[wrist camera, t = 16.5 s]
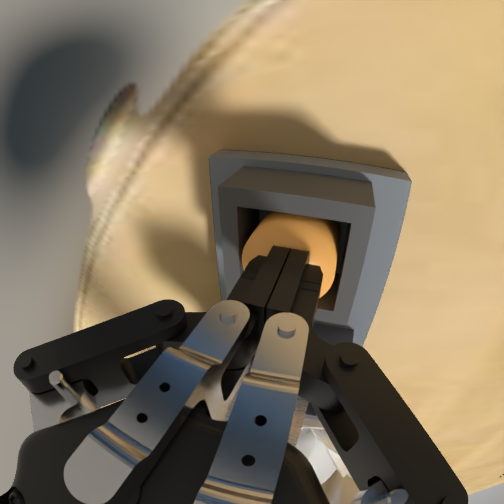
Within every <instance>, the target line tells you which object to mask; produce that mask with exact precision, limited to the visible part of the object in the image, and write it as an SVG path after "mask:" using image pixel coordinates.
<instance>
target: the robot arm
mask: <svg viewBox="0 0 504 504" xmlns="http://www.w3.org/2000/svg"><path fill="white" fill-rule="evenodd" d="M309 256H310V252H309V251H304V250H298V249H291V248H286V247H280V246H275V245H273V246H272V248H271V250H270V252H269V254H268V256H261V255H258V256H256V257H255V258H253V259H252V260H251V261H249V263H248V265H247V266H246V268H245V271H243V273H242V275H241V277H240V278H239V279H238V281H237V283H236V284H235V286H234V288H233V289H232V291H231V293H230V294H229V296H228V298H227V299H226V300H225V301H221V302H218V303H216V304H214V305H213V306H212V307H211V308H210V309H209V310H208V312H185V310H184V307H183V306H182V304H181V303H179V302H177V301H175V300H161V301H158V302H155V303H153V304H150V305H147V306H145V307H142V308H140V309H137V310H134V311H132V312H129V313H126V314H124V315H121V316H118V317H116V318H113V319H110V320H108V321H105V322H102V323H99V324H97V325H94V326H91V327H89V328H86V329H83V330H81V331H78V332H75V333H72V334H70V335H67V336H64V337H61V338H59V339H56V340H53V341H50V342H48V343H45V344H42V345H40V346H37V347H34V348H31V349H28V350H26V351H24V352H22V353H21V354H20V355H19V356H18V358H17V359H16V361H15V364H14V374H15V375H16V377H17V378H18V379H19V380H20V381H21V382H22V383H23V385H24V386H25V387H26V388H27V390H28V391H29V393H30V402H31V411H32V419H33V425H34V433H32V434H31V435H29V436H28V437H27V438H26V439H25V441H24V442H23V444H22V445H21V448H20V451H19V455H18V463H17V470H16V475H15V479H14V482H13V485H12V487H11V488H10V490H9V491H8V492H6V493H5V494H3V495H2V496H0V504H468V495H467V492H466V490H465V488H464V487H463V485H462V484H461V482H460V481H459V479H458V478H457V476H456V475H455V473H454V472H453V470H452V469H451V467H450V466H449V464H448V463H447V461H446V460H445V458H444V457H443V455H442V454H441V452H440V451H439V450H438V448H437V447H436V445H435V444H434V442H433V441H432V439H431V438H430V437H429V435H428V434H427V432H426V431H425V429H424V428H423V427H422V425H421V424H420V422H419V421H418V420H417V418H416V417H415V415H414V414H413V413H412V411H411V410H410V408H409V407H408V406H407V404H406V403H405V402H404V400H403V399H402V397H401V396H400V395H399V393H398V392H397V391H396V389H395V388H394V387H393V385H392V384H391V382H390V381H389V380H388V378H387V377H386V376H385V374H384V373H383V372H382V370H381V369H380V368H379V366H378V365H377V364H376V362H375V361H374V360H373V358H372V357H371V356H370V354H369V353H368V352H367V351H366V350H365V349H364V348H363V347H362V346H360V345H358V344H356V343H352V342H342V343H338V344H336V345H334V346H333V345H331V344H329V343H327V342H325V341H323V340H322V339H321V338H319V337H318V336H317V335H316V333H315V332H314V329H313V323H314V319H315V315H316V311H317V307H318V302H319V297H320V291H321V286H322V280H323V273H322V270H321V267H320V266H317V265H312V264H309ZM154 345H156V348H154V349H151V350H149V351H146V352H144V353H141V354H139V355H136V356H133V357H131V358H124V357H126V356H128V355H131V354H134V353H136V352H139V351H141V350H144V349H146V348H149V347H151V346H154ZM255 350H257V351H256V354H255V357H254V361H253V364H252V367H251V370H250V372H249V374H247V372H248V370H249V368H250V366H251V359H252V357H253V355H254V353H255ZM240 385H241V386H240ZM239 387H240V389H239V392H238V395H237V397H236V400H235V403H234V406H233V409H232V411H231V414H230V417H229V420H228V421H224V420H225V418H226V414H227V409H228V407H229V404H230V403H231V401H232V399H233V397H234V395H235V394H236V392H237V390H238V388H239ZM297 396H300V397H302V398H303V399H305V400H307V401H309V402H310V403H312V407H313V409H314V411H315V413H316V415H317V417H318V418H319V420H320V422H321V424H322V426H323V427H324V429H325V431H326V433H327V435H328V436H329V438H330V440H331V442H332V443H333V445H334V447H335V449H336V451H337V452H338V454H339V456H340V458H341V459H342V461H343V463H344V465H345V466H346V468H347V470H348V471H349V473H350V475H351V477H352V478H351V477H349V476H348V475H346V476H345V477H342V476H341V474H340V473H339V471H338V470H337V469H336V470H335V472H334V473H333V474H332V475H331V476H330V477H329V478H328V479H327V480H326V481H325V482H323V483H322V484H320V481H319V479H318V477H317V475H316V473H315V471H314V469H313V467H312V465H311V463H310V462H309V461H308V459H307V458H306V457H305V456H304V454H303V453H302V452H301V451H299V450H298V449H297V448H296V447H294V446H293V445H291V444H290V443H288V437H289V433H290V429H291V424H292V420H293V415H294V411H295V406H296V401H297ZM124 398H126V399H124ZM122 399H123V400H122ZM119 400H121V401H119ZM116 401H118V402H116ZM113 402H116V403H113ZM111 403H113V404H111ZM108 404H111V405H108ZM105 405H108V406H106V407H103V408H101V409H98V410H96V408H99V407H102V406H105Z"/></svg>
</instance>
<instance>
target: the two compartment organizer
mask: <svg viewBox="0 0 504 504" xmlns="http://www.w3.org/2000/svg"><path fill="white" fill-rule="evenodd" d="M209 168H210V182H211V195H212V208H213V220H214V231H215V242H216V253H217V263H218V273H219V283H220V292H221V301H225V300H226V299H227V298H228V296H229V294H230V293H231V291H232V289H233V288H234V286H235V284H236V283H237V281H238V279H239V278H240V277H241V275H242V273H243V271H244V269H243V265H242V253H243V249H244V246H245V244H246V242H247V241H248V239H249V238H250V236H251V235H252V233H253V232H254V230H255V229H256V228H257V226H258V225H259V223H260V222H261V220H262V219H263V217H264V216H265V214H266V213H267V212H268V211H275V212H282V213H289V214H296V215H303V216H309V217H316V218H322V219H328V220H335V221H338V222H339V225H340V231H341V236H340V244H339V251H338V258H337V265H336V271H335V277H334V281H333V283H332V285H331V287H330V289H329V290H328V291H327V292H326V293H325V294H324V295H323V296H322V297H321V298H319V302H318V307H317V311H316V315H315V319H314V323H313V329H314V332H315V333H316V335H317V336H318V337H319V338H321V339H322V340H323V341H325V342H327V343H329V344H331V345H333V346H334V345H336V344H338V343H342V342H352V343H356V344H358V345H360V346H363V344H364V341H365V339H366V336H367V334H368V331H369V329H370V326H371V323H372V321H373V318H374V315H375V313H376V310H377V307H378V304H379V301H380V299H381V296H382V293H383V290H384V287H385V284H386V281H387V277H388V274H389V271H390V268H391V264H392V261H393V258H394V254H395V251H396V247H397V243H398V240H399V236H400V232H401V228H402V224H403V220H404V216H405V211H406V207H407V202H408V197H409V193H410V188H411V183H412V181H411V179H410V178H409V176H408V174H407V172H402V171H397V170H392V169H387V168H381V167H376V166H370V165H364V164H358V163H352V162H345V161H338V160H331V159H324V158H316V157H307V156H298V155H288V154H277V153H265V152H251V151H233V150H220V151H218V152H216V153H214V154H213V155H211V156H209ZM256 351H257V350H255V353H254V355H255V354H256ZM304 418H307V419H312V420H317V421H320V420H319V418H318V417H317V415H316V413H315V411H314V409H313V407H312V403H310V402H308V406H307V410H306V413H305V417H304Z"/></svg>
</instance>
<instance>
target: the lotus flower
mask: <svg viewBox="0 0 504 504" xmlns="http://www.w3.org/2000/svg"><path fill="white" fill-rule="evenodd" d="M296 448H297V449H298V450H299V451H301V452H302V453H303V454H304V456H305V457H306V458H307V459H308V461H309V462H310V463H311V465H312V467H313V469H314V471H315V473H316V475H317V477H318V479H319V481H320V484H322V483H323V482H325V481H326V480H327V479H328V478H329V477H330V476H331V475H332V474H333V473H334V472H335V470H336V469H337V470H338V471H339V473H340V474H341V476H342V477H345V476H346V475H348V476H349V477H351V475H350V473H349V471H348V470H347V468H346V466H345V465H344V463H343V461H342V459H341V458H340V456H339V454H338V452H337V451H336V449H335V447H334V445H333V443H332V442H331V440H330V438H329V436H328V435H327V433H326V431H325V429H324V427H323V426H322V424H321V422H320V421H317V420H312V419H307V418H304V420H303V424H302V427H301V431H300V434H299V437H298V441H297V444H296ZM351 478H352V477H351Z"/></svg>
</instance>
